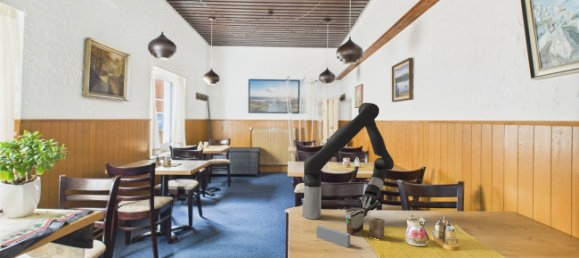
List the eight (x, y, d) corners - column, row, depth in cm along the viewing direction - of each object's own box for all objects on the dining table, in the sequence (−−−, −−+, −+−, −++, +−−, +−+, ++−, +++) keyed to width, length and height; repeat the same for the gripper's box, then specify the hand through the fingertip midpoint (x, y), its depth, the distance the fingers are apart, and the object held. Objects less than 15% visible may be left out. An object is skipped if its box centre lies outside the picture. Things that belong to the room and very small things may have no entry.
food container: (353, 226, 149) (354, 206, 148) (364, 229, 144) (364, 209, 144) (339, 232, 140) (339, 211, 140) (350, 236, 136) (350, 214, 135)
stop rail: (316, 237, 134) (316, 226, 134) (319, 235, 136) (319, 225, 136) (347, 247, 124) (347, 235, 123) (350, 245, 125) (350, 234, 125)
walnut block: (368, 237, 135) (369, 219, 134) (374, 234, 138) (374, 217, 138) (379, 240, 131) (379, 222, 131) (384, 237, 135) (384, 219, 135)
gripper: (360, 181, 161) (348, 209, 152) (383, 185, 152) (372, 214, 143) (365, 189, 165) (353, 216, 156) (388, 193, 156) (377, 222, 147)
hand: (362, 215), depth 150 cm, fingers closed
